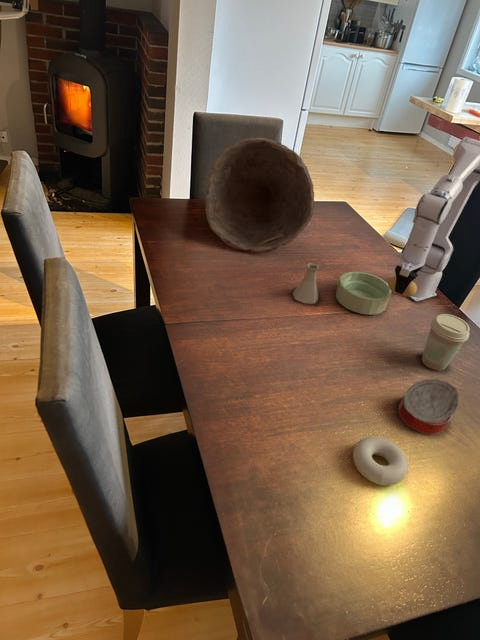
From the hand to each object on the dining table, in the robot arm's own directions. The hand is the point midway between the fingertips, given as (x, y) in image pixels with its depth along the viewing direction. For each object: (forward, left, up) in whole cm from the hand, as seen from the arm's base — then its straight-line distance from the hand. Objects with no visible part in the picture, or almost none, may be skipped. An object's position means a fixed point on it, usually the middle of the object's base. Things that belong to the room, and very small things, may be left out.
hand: (401, 288), depth 125 cm
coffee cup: (+5, +19, -9) cm, 22 cm away
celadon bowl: (+4, -8, -8) cm, 12 cm away
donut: (+40, +35, -9) cm, 54 cm away
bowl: (+10, -51, -9) cm, 52 cm away
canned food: (+22, +30, -9) cm, 39 cm away
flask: (+18, -16, -9) cm, 26 cm away
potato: (0, 0, -1) cm, 1 cm away
